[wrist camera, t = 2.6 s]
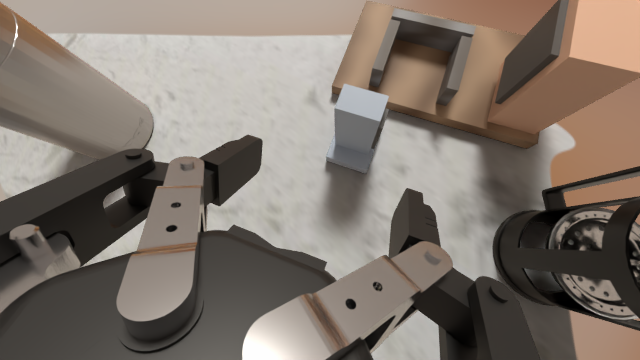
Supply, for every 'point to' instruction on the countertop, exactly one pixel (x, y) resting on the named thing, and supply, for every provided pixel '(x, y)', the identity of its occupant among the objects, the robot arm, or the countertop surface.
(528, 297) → the french press
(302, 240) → the countertop surface
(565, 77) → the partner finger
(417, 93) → the rail
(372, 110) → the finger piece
